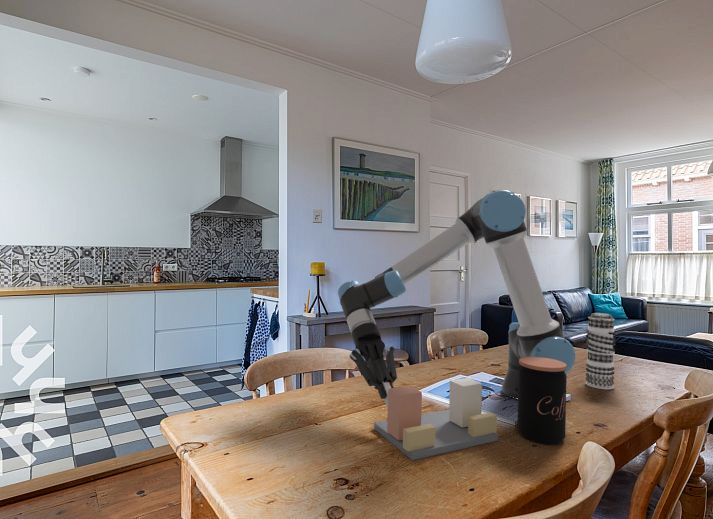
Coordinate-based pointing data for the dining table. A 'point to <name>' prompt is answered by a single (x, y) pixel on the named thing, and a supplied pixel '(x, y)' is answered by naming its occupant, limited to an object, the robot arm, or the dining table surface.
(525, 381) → the coffee jar
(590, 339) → the white patterned cylinder
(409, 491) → the dining table surface
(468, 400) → the cream key
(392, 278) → the robot arm
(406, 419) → the terracotta key
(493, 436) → the board
